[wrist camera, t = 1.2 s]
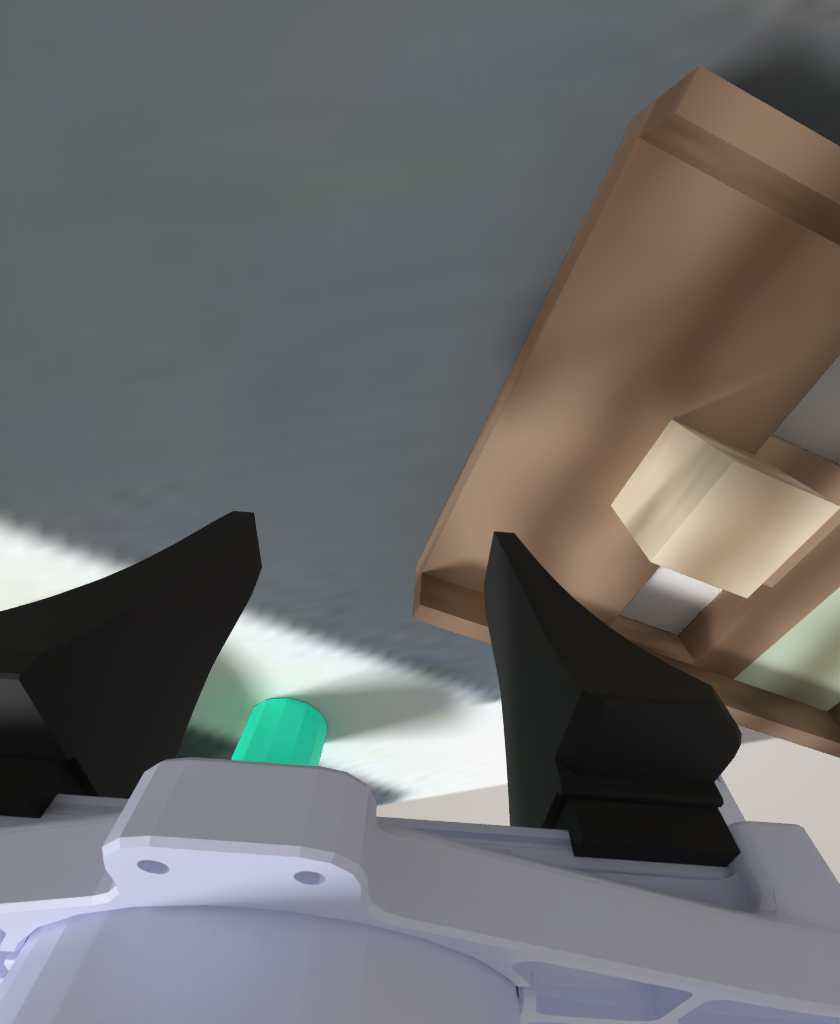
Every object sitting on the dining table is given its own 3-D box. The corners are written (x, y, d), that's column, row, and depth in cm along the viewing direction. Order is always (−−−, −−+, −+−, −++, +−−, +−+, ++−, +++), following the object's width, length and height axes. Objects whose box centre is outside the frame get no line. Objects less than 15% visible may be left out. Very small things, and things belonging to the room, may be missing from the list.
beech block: (759, 457, 19) (841, 507, 15) (690, 536, 21) (747, 598, 17) (671, 419, 18) (734, 460, 14) (610, 505, 20) (650, 562, 16)
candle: (342, 720, 33) (294, 932, 22) (304, 755, 35) (246, 960, 25) (271, 686, 31) (185, 897, 21) (237, 725, 34) (145, 931, 23)
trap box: (1178, 414, 19) (1395, 457, 15) (803, 697, 29) (867, 773, 25) (633, 117, 15) (710, 56, 11) (417, 563, 25) (411, 625, 21)
